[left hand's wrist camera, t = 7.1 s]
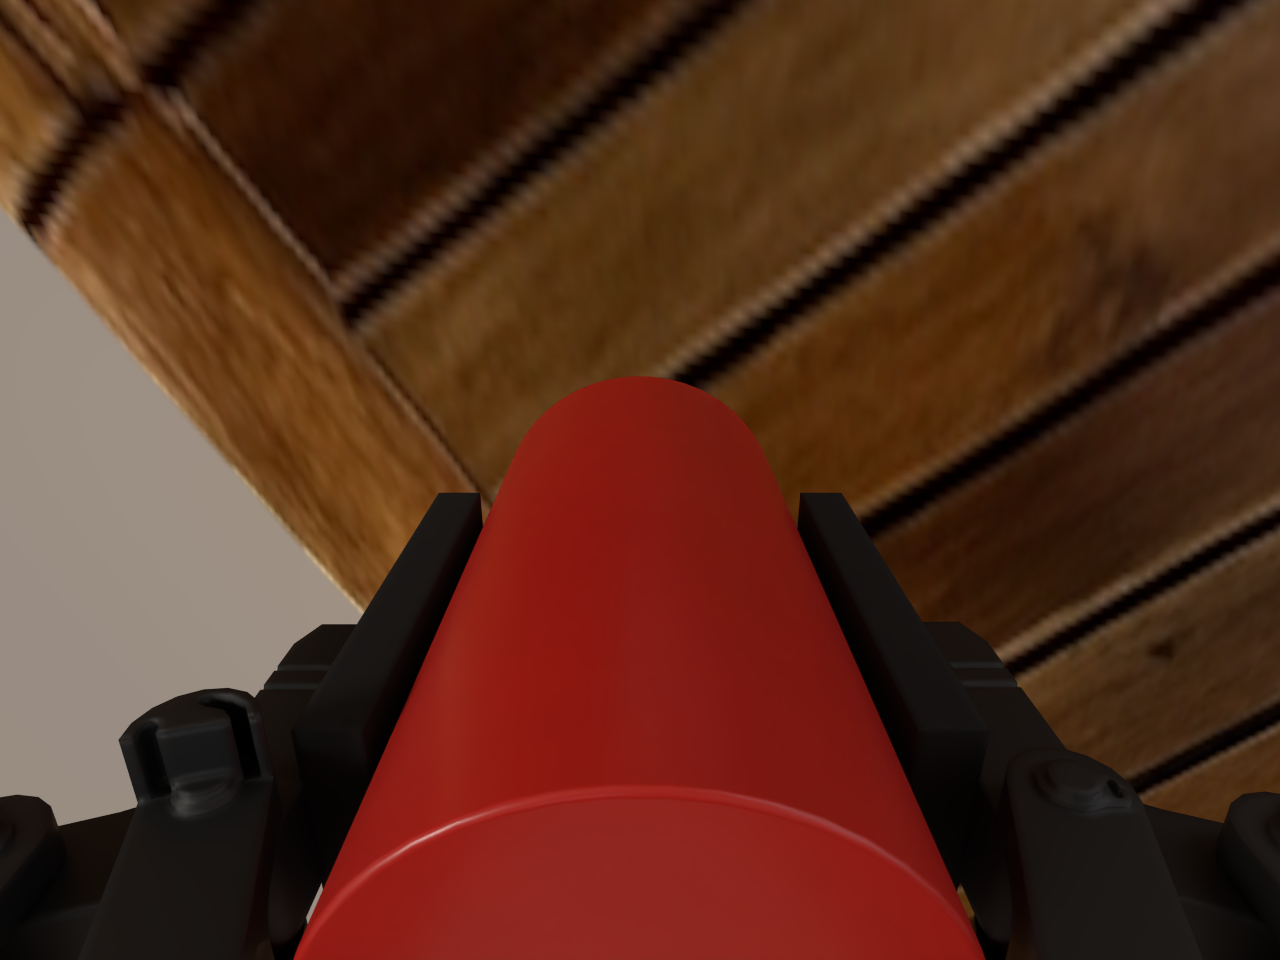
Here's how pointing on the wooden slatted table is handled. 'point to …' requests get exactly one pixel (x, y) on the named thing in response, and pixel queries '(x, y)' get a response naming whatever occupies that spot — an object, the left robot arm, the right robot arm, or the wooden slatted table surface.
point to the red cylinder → (639, 728)
